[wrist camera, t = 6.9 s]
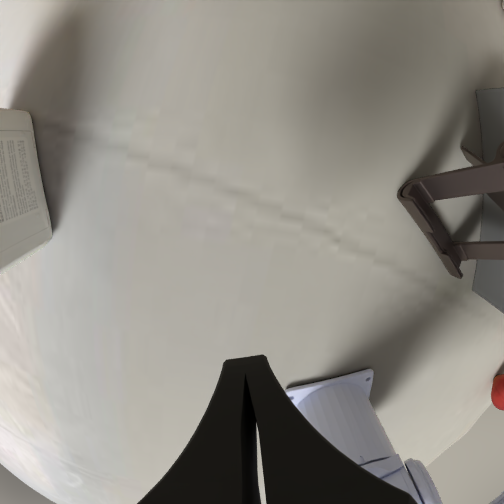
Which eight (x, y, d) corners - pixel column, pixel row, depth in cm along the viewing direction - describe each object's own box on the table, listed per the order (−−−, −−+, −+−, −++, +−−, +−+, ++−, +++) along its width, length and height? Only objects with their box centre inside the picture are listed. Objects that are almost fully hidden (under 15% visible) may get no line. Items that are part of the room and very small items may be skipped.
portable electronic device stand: (390, 195, 17) (479, 227, 9) (446, 122, 16) (533, 124, 8) (444, 270, 20) (512, 318, 12) (490, 203, 18) (560, 230, 10)
